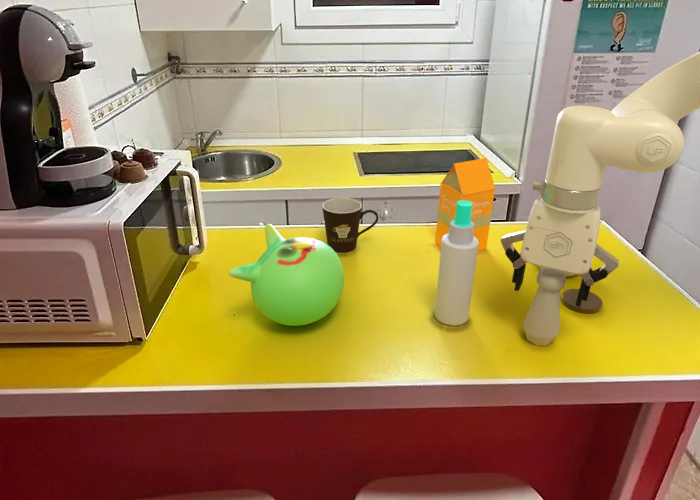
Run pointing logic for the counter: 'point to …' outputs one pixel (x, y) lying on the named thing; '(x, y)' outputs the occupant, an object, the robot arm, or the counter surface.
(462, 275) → the spray bottle
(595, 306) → the coaster
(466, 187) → the orange juice
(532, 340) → the salt shaker
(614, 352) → the counter surface
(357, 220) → the coffee mug
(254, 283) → the toy bird
